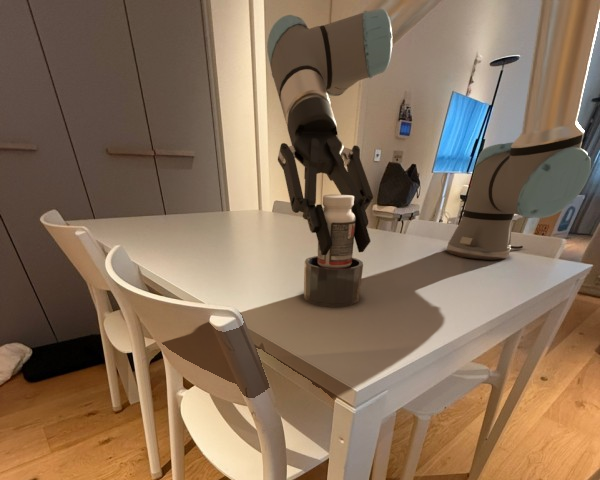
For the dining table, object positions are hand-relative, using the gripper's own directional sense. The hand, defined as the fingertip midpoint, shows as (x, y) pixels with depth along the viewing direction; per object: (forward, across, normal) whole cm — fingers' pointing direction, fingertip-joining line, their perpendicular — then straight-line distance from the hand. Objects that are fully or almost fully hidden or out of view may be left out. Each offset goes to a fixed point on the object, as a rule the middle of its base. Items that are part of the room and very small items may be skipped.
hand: (346, 248), depth 51 cm
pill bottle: (0, 0, -5) cm, 5 cm away
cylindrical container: (+4, 0, -9) cm, 10 cm away
